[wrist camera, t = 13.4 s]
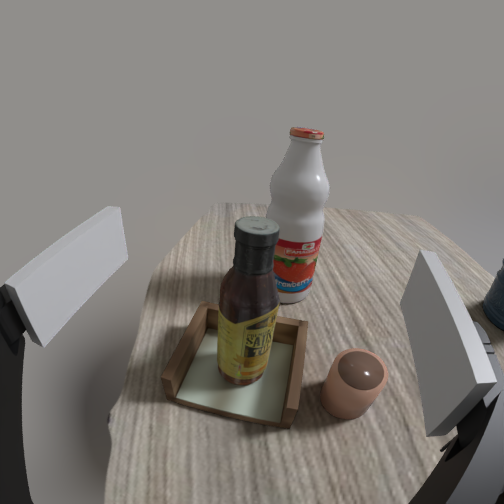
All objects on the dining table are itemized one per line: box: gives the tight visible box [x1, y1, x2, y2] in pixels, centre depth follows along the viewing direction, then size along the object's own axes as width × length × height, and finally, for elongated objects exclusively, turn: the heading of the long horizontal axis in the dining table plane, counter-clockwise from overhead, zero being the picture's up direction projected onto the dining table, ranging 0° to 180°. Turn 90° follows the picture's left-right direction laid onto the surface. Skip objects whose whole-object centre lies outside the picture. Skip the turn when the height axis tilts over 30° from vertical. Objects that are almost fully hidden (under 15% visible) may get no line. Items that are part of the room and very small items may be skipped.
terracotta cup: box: [320, 348, 388, 419], centre depth 32 cm, size 7×7×6 cm
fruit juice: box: [266, 127, 330, 303], centre depth 46 cm, size 9×9×28 cm
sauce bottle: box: [217, 216, 280, 385], centre depth 31 cm, size 7×6×20 cm
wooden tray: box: [161, 301, 308, 429], centre depth 35 cm, size 15×14×5 cm
